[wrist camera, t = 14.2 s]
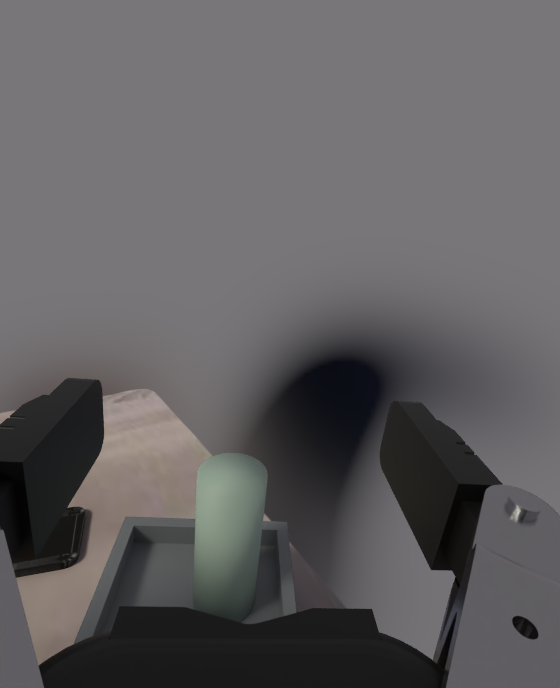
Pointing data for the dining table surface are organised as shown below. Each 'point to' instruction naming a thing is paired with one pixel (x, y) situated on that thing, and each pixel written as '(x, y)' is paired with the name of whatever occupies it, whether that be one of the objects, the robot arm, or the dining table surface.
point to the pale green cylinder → (228, 534)
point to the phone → (56, 546)
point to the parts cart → (180, 572)
